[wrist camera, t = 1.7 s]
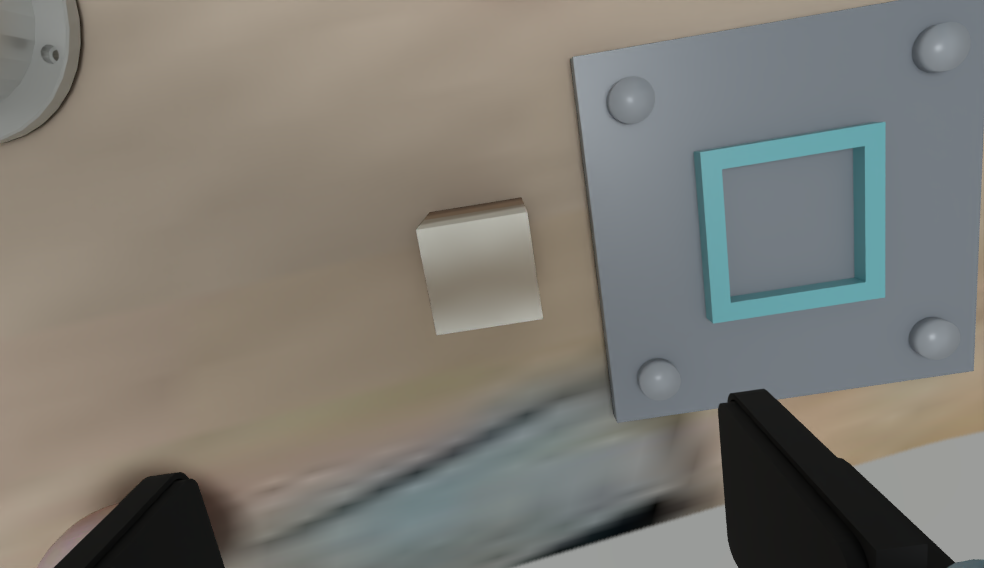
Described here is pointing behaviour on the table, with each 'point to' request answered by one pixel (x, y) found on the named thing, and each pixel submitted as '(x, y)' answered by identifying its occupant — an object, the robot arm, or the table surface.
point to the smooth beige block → (479, 266)
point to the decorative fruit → (73, 537)
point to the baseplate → (786, 204)
